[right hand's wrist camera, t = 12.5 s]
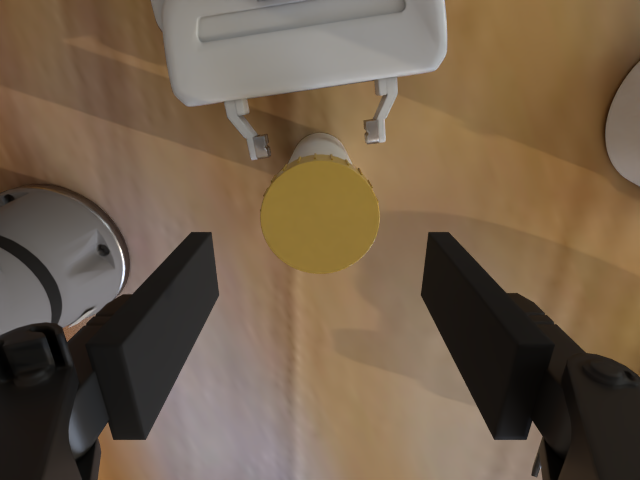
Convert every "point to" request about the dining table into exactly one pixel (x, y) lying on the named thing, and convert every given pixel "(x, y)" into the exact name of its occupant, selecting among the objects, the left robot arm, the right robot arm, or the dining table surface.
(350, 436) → the dining table surface
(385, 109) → the left robot arm
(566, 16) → the dining table surface
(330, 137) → the jar
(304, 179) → the lid
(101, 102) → the dining table surface
